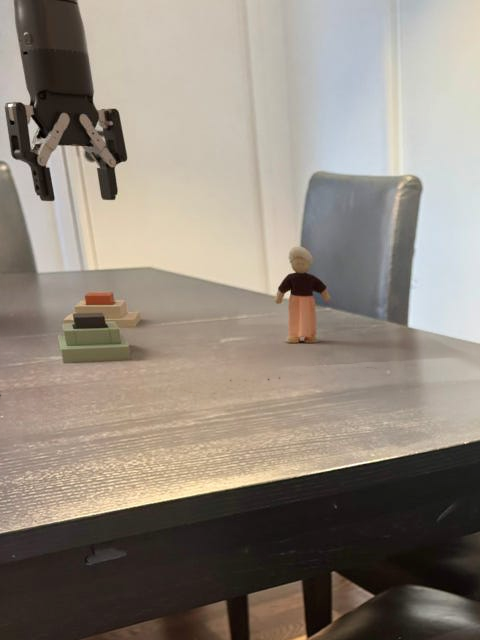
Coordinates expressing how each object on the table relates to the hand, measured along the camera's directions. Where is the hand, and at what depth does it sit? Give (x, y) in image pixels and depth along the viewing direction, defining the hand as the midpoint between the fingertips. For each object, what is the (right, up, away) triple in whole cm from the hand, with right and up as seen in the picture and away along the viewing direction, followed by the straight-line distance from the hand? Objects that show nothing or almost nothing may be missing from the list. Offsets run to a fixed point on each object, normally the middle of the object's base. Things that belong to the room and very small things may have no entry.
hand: (79, 200), depth 115 cm
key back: (-7, -5, +24) cm, 25 cm away
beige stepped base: (-7, -7, +25) cm, 27 cm away
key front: (+1, -16, +2) cm, 16 cm away
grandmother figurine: (+26, -13, +16) cm, 33 cm away
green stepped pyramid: (+1, -19, +3) cm, 19 cm away
